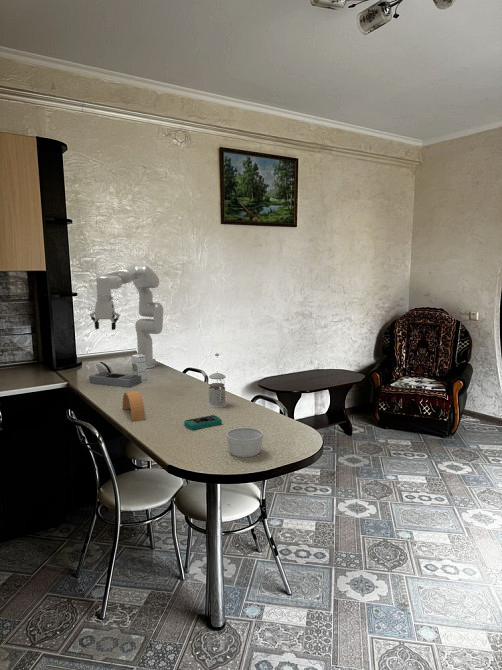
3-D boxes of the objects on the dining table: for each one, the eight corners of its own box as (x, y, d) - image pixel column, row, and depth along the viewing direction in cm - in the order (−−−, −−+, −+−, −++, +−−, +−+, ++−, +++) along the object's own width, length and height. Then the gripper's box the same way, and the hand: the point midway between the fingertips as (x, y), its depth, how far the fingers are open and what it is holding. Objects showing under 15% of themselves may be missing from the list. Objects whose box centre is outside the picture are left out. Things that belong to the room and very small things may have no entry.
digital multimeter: (223, 425, 198) (223, 418, 197) (191, 431, 189) (191, 424, 189) (214, 420, 204) (214, 413, 203) (183, 426, 196) (183, 419, 195)
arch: (131, 421, 200) (130, 399, 198) (122, 408, 218) (121, 387, 216) (145, 419, 202) (144, 397, 201) (135, 407, 220) (134, 386, 219)
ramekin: (220, 455, 165) (220, 436, 164) (234, 442, 177) (234, 425, 176) (255, 461, 160) (255, 442, 159) (267, 447, 172) (268, 429, 171)
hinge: (117, 377, 277) (111, 362, 273) (110, 381, 274) (104, 366, 271) (107, 372, 290) (101, 358, 286) (100, 376, 287) (94, 361, 284)
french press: (203, 405, 223) (203, 354, 219) (213, 399, 233) (213, 350, 230) (222, 408, 219) (222, 355, 216) (231, 401, 230) (232, 351, 226)
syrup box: (146, 379, 274) (145, 354, 272) (137, 381, 269) (137, 356, 267) (140, 377, 277) (140, 353, 275) (132, 379, 273) (131, 355, 271)
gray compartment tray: (102, 378, 275) (102, 371, 274) (141, 382, 266) (141, 375, 266) (89, 383, 263) (89, 376, 263) (129, 387, 255) (129, 380, 254)
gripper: (121, 298, 261) (122, 328, 264) (92, 298, 264) (94, 328, 267) (116, 299, 254) (117, 330, 257) (86, 299, 257) (87, 329, 259)
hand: (105, 329), depth 262 cm, fingers open, 9 cm apart
